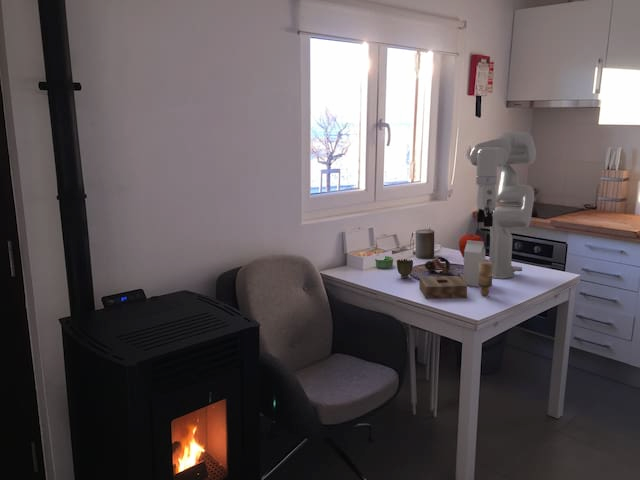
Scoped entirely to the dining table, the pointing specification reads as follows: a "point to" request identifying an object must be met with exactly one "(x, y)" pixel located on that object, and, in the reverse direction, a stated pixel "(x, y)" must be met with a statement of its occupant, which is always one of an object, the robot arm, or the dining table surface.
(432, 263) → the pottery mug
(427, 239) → the pillar candle
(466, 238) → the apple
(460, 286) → the walnut block
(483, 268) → the oak peg
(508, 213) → the robot arm
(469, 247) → the milk carton
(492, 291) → the dining table surface
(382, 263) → the ramekin
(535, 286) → the dining table surface
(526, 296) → the dining table surface
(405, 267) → the dark rounded textured piece
